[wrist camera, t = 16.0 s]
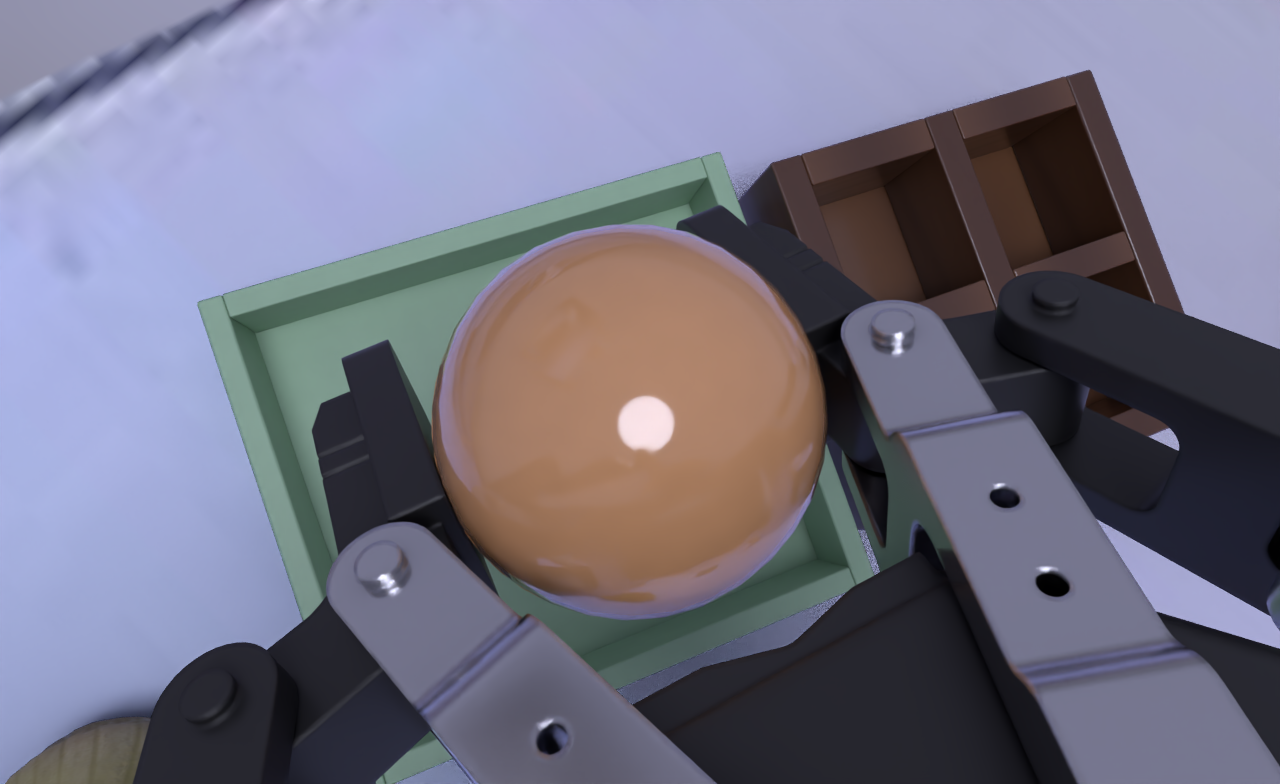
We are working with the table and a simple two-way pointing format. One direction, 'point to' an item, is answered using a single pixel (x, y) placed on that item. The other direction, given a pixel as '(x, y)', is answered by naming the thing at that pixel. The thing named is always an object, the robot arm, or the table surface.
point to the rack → (975, 210)
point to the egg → (629, 421)
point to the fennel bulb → (90, 755)
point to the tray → (419, 333)
